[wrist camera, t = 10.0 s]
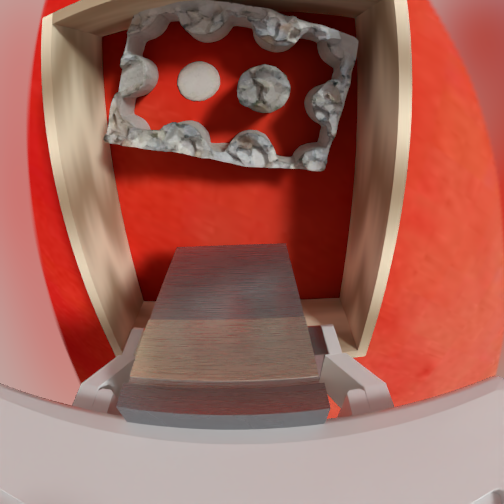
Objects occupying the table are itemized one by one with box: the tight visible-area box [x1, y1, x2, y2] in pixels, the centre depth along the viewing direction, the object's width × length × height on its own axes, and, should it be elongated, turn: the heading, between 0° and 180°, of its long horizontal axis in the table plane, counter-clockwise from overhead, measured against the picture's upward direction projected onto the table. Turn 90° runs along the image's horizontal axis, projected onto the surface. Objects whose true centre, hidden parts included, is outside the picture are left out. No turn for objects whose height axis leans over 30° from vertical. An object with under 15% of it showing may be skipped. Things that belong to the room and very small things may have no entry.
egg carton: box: [104, 0, 359, 171], centre depth 12 cm, size 11×8×4 cm
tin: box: [116, 243, 330, 430], centre depth 11 cm, size 5×5×8 cm
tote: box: [41, 0, 412, 358], centre depth 13 cm, size 21×15×5 cm
